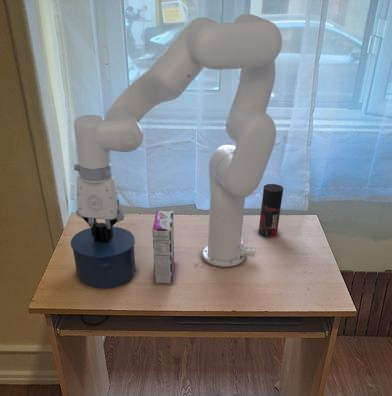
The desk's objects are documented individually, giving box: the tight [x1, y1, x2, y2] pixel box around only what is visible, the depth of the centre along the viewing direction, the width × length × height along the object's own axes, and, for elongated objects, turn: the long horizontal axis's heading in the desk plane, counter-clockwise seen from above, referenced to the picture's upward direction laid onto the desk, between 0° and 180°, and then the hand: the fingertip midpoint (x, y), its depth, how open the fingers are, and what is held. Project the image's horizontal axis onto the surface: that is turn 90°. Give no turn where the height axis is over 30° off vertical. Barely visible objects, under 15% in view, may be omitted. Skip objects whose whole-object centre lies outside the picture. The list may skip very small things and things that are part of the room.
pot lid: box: [70, 222, 136, 258], centre depth 132 cm, size 17×17×6 cm
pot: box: [72, 245, 136, 289], centre depth 136 cm, size 16×21×10 cm
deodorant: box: [258, 183, 284, 238], centre depth 155 cm, size 6×6×15 cm
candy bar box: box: [152, 209, 175, 285], centre depth 134 cm, size 11×5×16 cm, turn 179°
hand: (102, 239), depth 133 cm, fingers closed on pot lid, 2 cm apart
